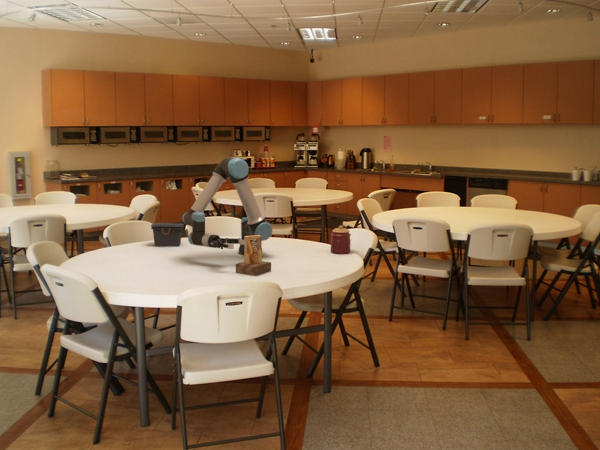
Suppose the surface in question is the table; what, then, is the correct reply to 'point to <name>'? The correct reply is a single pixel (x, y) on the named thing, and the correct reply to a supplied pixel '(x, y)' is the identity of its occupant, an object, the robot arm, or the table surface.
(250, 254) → the candy box
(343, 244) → the canister
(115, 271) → the table surface
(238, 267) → the walnut base
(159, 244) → the storage bin
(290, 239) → the table surface
